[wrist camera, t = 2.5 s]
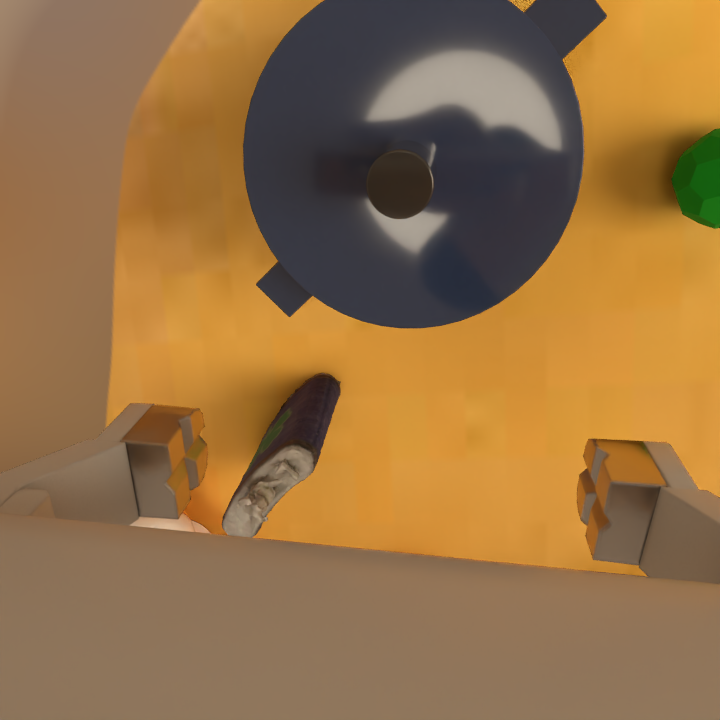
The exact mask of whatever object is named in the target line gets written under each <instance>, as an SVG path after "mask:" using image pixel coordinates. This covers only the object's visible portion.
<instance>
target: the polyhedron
mask: <svg viewBox="0 0 720 720" xmlns="http://www.w3.org/2000/svg"><path fill="white" fill-rule="evenodd" d="M671 180H672V185H673V188H674V191H675V194H676V197H677V200H678V203H679V206H680V208H681V211H682V214H683V215H685V216H687V217H689V218H690V219H692V220H694V221H696V222H698V223H700V224H703V225H706V226H709V227H712V228H715V229H716V228H720V129H715V130H713V131H711V132H710V133H708V134H707V135H705V136H703V137H702V138H700V139H699V140H698V141H697V142H696V143H694V144H693V145H692V146H691V147H690V148H688V149H687V150H686V151H685V152H684V153H683V154H682V155H681V157H680V158H679V160H678V163H677V166H676V168H675V171H674V174H673V177H672V179H671Z"/></svg>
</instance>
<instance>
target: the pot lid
mask: <svg viewBox="0 0 720 720" xmlns="http://www.w3.org/2000/svg"><path fill="white" fill-rule="evenodd" d="M243 157H244V174H245V181H246V188H247V193H248V197H249V200H250V204H251V208H252V211H253V214H254V216H255V219H256V222H257V224H258V227H259V229H260V231H261V233H262V235H263V237H264V239H265V241H266V243H267V244H268V246H269V248H270V250H271V251H272V253H273V254H274V255H275V257H276V258H277V260H278V261H279V262H280V264H281V265H282V267H283V268H284V269H285V270H286V271H287V272H288V273H289V274H290V275H291V277H292V278H293V279H294V280H295V281H296V282H297V283H298V284H300V285H301V286H302V287H303V288H304V289H305V290H306V291H307V292H309V293H310V294H311V295H313V296H314V297H315V298H317V299H318V300H320V301H321V302H323V303H324V304H326V305H327V306H329V307H331V308H333V309H335V310H337V311H339V312H341V313H343V314H345V315H347V316H350V317H353V318H355V319H358V320H360V321H363V322H368V323H372V324H376V325H380V326H386V327H395V328H427V327H435V326H442V325H446V324H450V323H454V322H458V321H461V320H464V319H467V318H469V317H472V316H474V315H477V314H480V313H481V312H483V311H485V310H487V309H489V308H491V307H493V306H495V305H497V304H498V303H500V302H501V301H503V300H504V299H505V298H507V297H508V296H510V295H511V294H513V293H514V292H515V291H517V290H518V289H519V288H520V287H521V286H522V285H523V284H524V283H525V282H527V281H528V280H529V279H530V278H531V277H532V276H533V275H534V274H535V272H536V271H537V270H538V269H539V268H540V267H541V266H542V264H543V263H544V262H545V261H546V260H547V258H548V257H549V255H550V254H551V252H552V251H553V249H554V248H555V246H556V245H557V243H558V242H559V240H560V238H561V236H562V234H563V232H564V230H565V228H566V226H567V224H568V222H569V220H570V217H571V214H572V212H573V209H574V206H575V203H576V201H577V197H578V192H579V188H580V183H581V179H582V172H583V161H584V131H583V123H582V117H581V111H580V106H579V101H578V98H577V95H576V92H575V89H574V86H573V83H572V79H571V77H570V75H569V73H568V71H567V69H566V67H565V65H564V63H563V61H562V59H561V57H560V55H559V54H558V52H557V51H556V49H555V48H554V46H553V45H552V43H551V42H550V40H549V39H548V37H547V36H546V35H545V34H544V33H543V31H542V30H541V29H540V28H539V27H538V26H537V25H536V24H535V23H534V22H533V21H532V19H531V18H530V17H529V16H527V15H526V14H525V13H524V12H523V11H521V10H520V9H519V8H518V7H516V6H515V5H514V4H513V3H511V2H510V1H509V0H324V1H323V2H321V3H320V4H318V5H317V6H316V7H315V8H313V9H312V10H311V11H310V12H309V13H307V14H306V15H305V16H304V17H302V18H301V19H300V20H299V21H298V22H297V23H296V25H295V26H294V27H293V28H292V29H291V30H290V31H289V32H288V33H287V34H286V35H285V36H284V38H283V39H282V41H281V42H280V43H279V45H278V46H277V48H276V49H275V51H274V52H273V53H272V55H271V56H270V58H269V60H268V62H267V64H266V66H265V68H264V69H263V71H262V73H261V75H260V77H259V80H258V82H257V85H256V88H255V90H254V93H253V96H252V98H251V102H250V106H249V111H248V115H247V119H246V124H245V134H244V143H243Z"/></svg>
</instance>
